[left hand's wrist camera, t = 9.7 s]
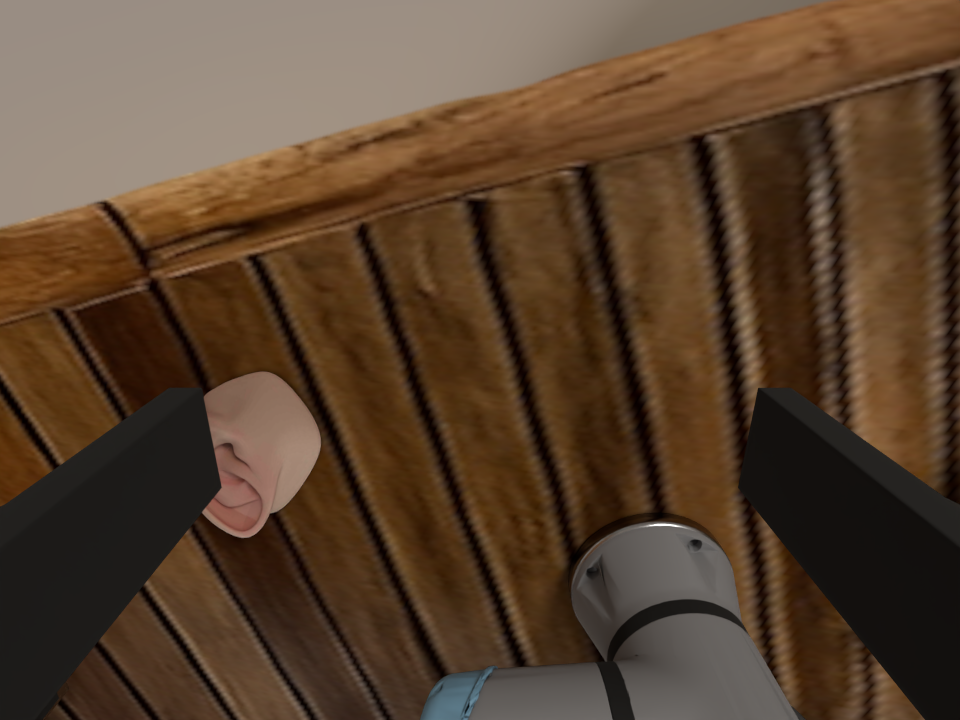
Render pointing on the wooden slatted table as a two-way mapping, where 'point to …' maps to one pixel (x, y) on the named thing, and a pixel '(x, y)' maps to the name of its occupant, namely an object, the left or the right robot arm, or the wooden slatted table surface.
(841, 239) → the wooden slatted table surface
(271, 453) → the anatomical model
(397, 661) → the wooden slatted table surface
